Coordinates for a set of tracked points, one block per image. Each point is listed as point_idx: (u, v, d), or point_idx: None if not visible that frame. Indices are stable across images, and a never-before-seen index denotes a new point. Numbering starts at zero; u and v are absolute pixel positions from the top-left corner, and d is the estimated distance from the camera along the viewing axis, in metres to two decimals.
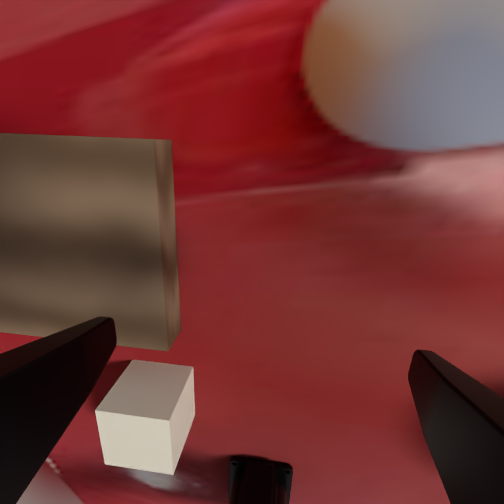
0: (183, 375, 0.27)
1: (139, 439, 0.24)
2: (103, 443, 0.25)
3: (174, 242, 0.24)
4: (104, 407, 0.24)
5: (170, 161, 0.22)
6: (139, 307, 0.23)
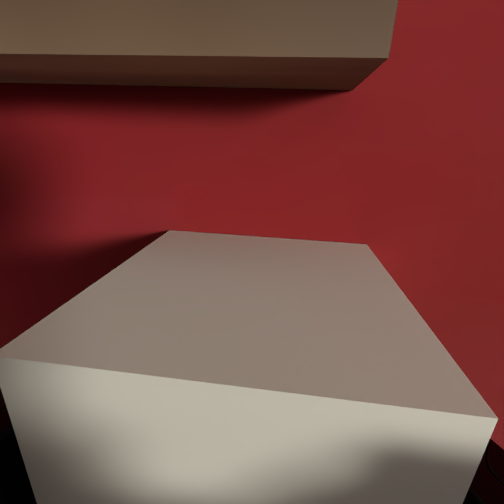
0: (357, 258, 0.08)
1: None
2: None
3: None
4: (52, 343, 0.04)
5: None
6: None
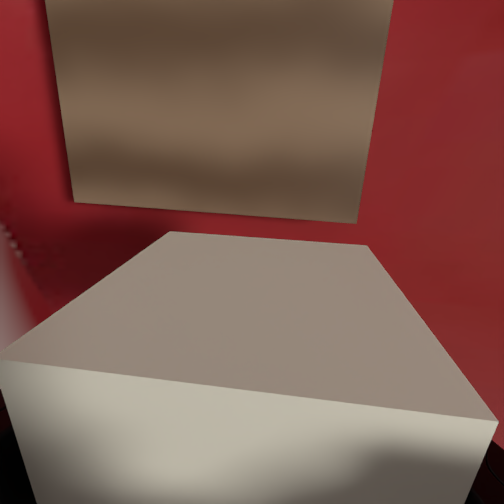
0: (358, 260, 0.08)
1: None
2: None
3: None
4: (52, 345, 0.04)
5: None
6: (325, 144, 0.15)
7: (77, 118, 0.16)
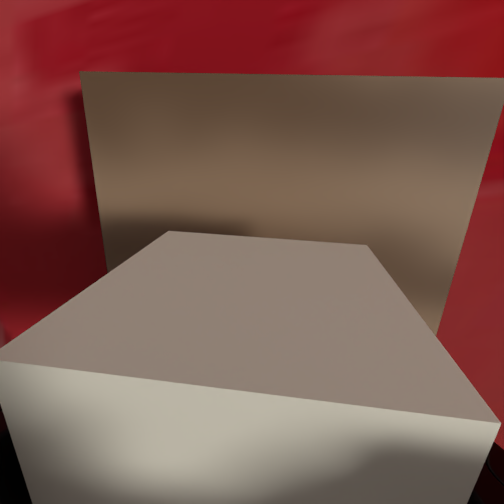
0: (357, 259, 0.08)
1: None
2: None
3: None
4: (48, 345, 0.04)
5: None
6: None
7: None
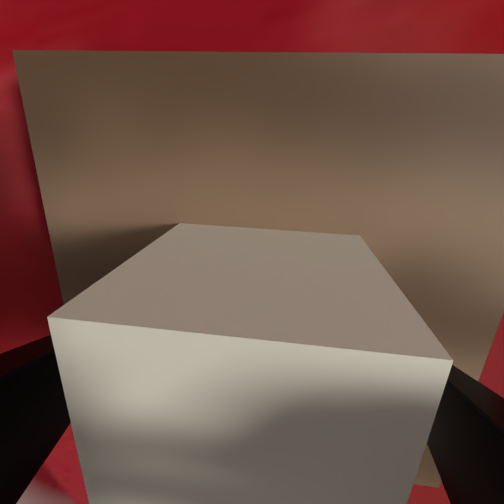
0: (350, 247, 0.09)
1: (256, 460, 0.05)
2: (92, 473, 0.06)
3: None
4: (94, 308, 0.05)
5: None
6: None
7: None
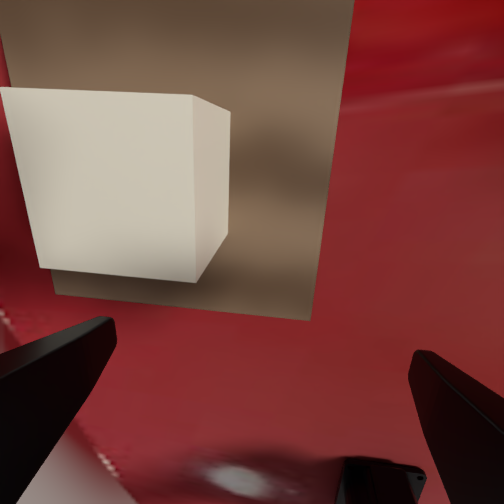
0: None
1: (115, 177, 0.10)
2: (30, 202, 0.10)
3: None
4: None
5: None
6: (279, 257, 0.16)
7: None
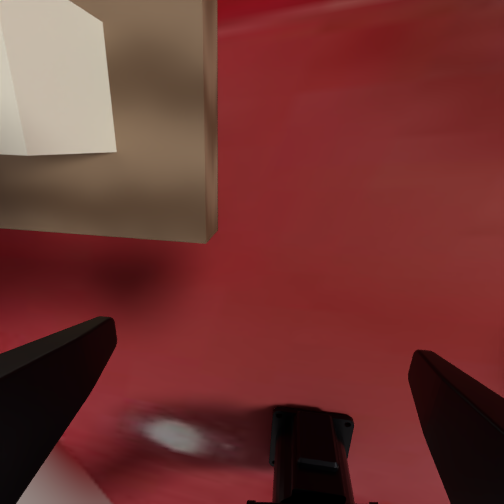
0: None
1: None
2: None
3: (215, 92, 0.17)
4: None
5: None
6: (168, 175, 0.17)
7: None
